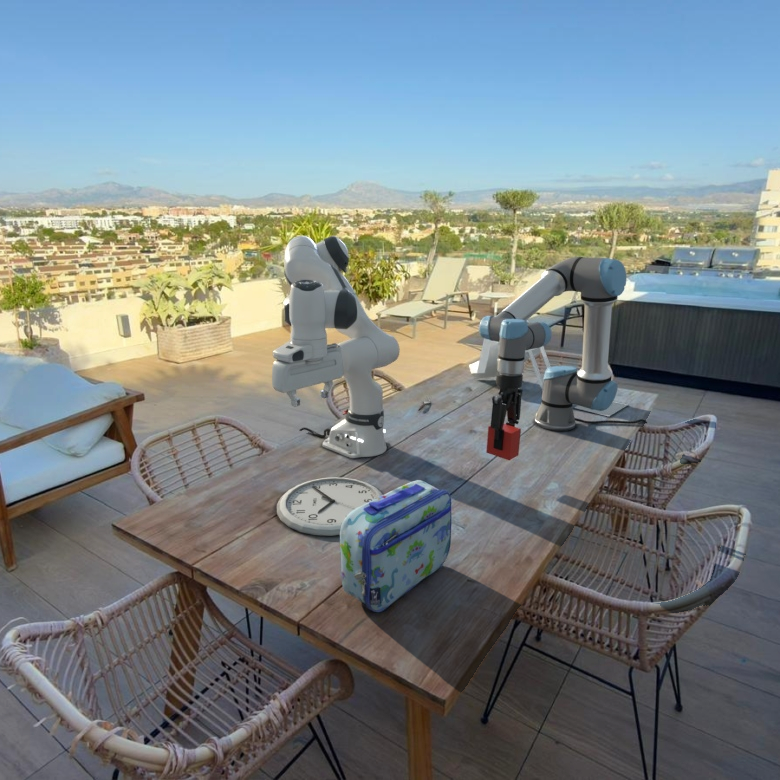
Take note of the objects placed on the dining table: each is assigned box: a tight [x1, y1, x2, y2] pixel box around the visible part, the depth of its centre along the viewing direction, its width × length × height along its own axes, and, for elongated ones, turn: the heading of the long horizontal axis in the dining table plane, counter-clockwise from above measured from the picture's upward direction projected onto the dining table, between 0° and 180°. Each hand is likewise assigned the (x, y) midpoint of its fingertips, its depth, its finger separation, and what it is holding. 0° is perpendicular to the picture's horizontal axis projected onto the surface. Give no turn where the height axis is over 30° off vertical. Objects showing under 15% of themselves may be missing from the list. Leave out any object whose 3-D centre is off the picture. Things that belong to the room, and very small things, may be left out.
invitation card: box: [573, 400, 629, 418], centre depth 226 cm, size 21×1×15 cm
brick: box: [486, 423, 522, 461], centre depth 159 cm, size 5×8×9 cm
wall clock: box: [276, 476, 385, 537], centre depth 142 cm, size 30×2×30 cm
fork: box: [418, 396, 432, 411], centre depth 223 cm, size 3×16×2 cm, turn 160°
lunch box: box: [339, 479, 452, 613], centre depth 109 cm, size 26×11×21 cm, turn 134°
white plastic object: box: [468, 319, 552, 391], centre depth 255 cm, size 37×45×31 cm
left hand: (310, 401), depth 132 cm, fingers open, 8 cm apart
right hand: (503, 445), depth 160 cm, fingers closed on brick, 5 cm apart
